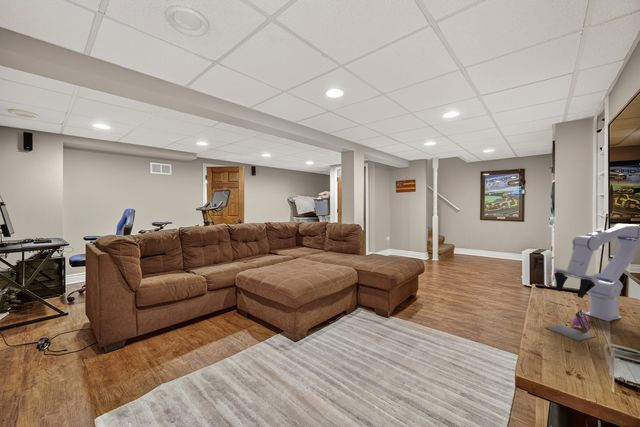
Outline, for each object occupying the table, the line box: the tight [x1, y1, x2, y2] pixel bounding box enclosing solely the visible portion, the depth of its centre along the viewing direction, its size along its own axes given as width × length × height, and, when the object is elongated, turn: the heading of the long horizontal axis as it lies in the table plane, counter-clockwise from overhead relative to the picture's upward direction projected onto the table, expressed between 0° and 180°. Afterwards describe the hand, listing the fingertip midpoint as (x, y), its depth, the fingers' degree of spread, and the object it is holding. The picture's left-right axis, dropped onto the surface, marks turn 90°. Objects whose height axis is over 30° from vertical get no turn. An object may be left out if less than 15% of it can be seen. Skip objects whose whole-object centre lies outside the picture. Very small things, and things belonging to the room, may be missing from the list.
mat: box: [544, 323, 596, 342], centre depth 103 cm, size 9×11×1 cm
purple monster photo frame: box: [570, 308, 591, 333], centre depth 106 cm, size 7×5×9 cm
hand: (568, 294), depth 112 cm, fingers open, 7 cm apart
